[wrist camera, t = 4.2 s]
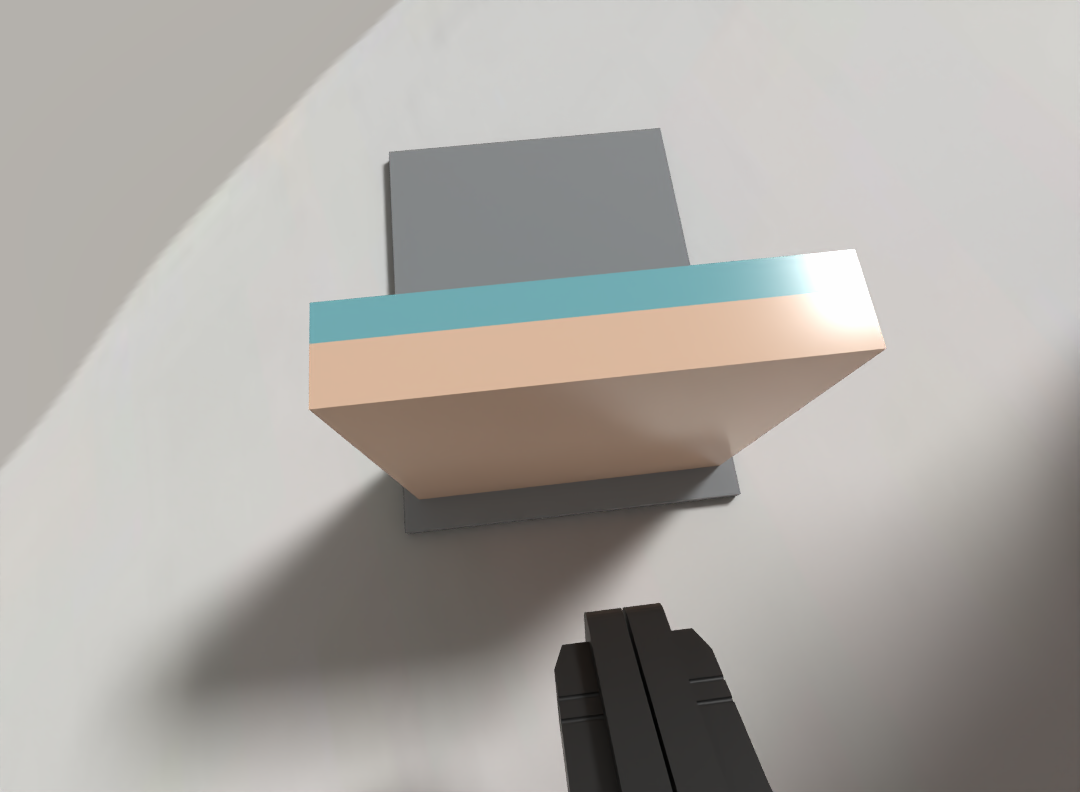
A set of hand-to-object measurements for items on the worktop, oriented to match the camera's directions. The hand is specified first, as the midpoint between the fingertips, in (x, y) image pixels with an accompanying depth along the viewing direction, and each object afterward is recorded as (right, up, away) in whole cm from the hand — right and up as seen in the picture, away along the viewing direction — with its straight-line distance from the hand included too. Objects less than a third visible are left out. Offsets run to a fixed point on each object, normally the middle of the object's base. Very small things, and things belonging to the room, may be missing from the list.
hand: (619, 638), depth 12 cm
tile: (-1, +3, +8) cm, 9 cm away
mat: (-1, +8, +10) cm, 13 cm away
